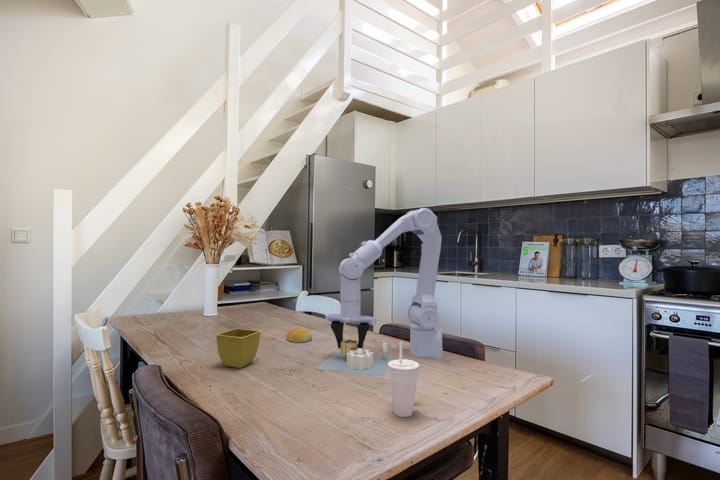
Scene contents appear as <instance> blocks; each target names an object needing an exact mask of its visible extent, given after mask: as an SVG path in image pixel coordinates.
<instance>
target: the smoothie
mask: <svg viewBox="0 0 720 480" xmlns="http://www.w3.org/2000/svg"><path fill="white" fill-rule="evenodd" d="M398 352H399V359H394V360H392V361H390V362H389V363H388V369H387V370H388V371H389V380H390V387H391V394H392V395H391V398H392V405H393V413H394V415H396V416H398V417H402V418H407V417H408V418H409V417H411V416H412V415H413V414H414V406H415V399H416V390H417V382H418V374H419V372H420V370H421V369H420V363H419V362H417V361H415V360H411V359H403V342H402V341H399V351H398Z"/></svg>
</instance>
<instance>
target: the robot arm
mask: <svg viewBox="0 0 720 480" xmlns="http://www.w3.org/2000/svg"><path fill="white" fill-rule="evenodd" d="M407 232H412V233H413V234H415V235H416V236H417V237H418V238H419V239H420V241H421V242H422V247H421V248H422V249H421V255H420V263H419V270H418V276H417V285H416V293H415V295H414V296H413V297H412V299H411V304H410V305H409V306H408V309H407V311H406V312H407V317H408V319H409V321H410V328H409V329H410V331H409V333H410V335H409V337H410V343H409V344H410V346H409V348H410V351H409V353H410V355H411V356H414V357H418V358H432V359H433V358H434V359H439V363H441V361H442V358H443V354H444V350H443V349H444V348H443V330H442V329H441V328H437V327H436V326H437V324H438V322H439V314H438V302H437V301H436V298H435V290H436V283H437V277H438V275H437V274H438V270H439V261H440V255H441V254H440V253H441V248H442V240H443V239H442V234H441V231H440V229H439V225H438V217H437V215H436V214H435V213H434V212H433V211H432V210H431V209H430V208H428V207H427V208H426V207H421V208H419V209H415V210H410V211H408V212H407V213H405V214H404V215H402V216H401V217H399V218H398V219H397V220H396V221H395V222H394V223H392V224H391V225H390V226H389V227H388V228H387V229H386V230H385V231H383V233H381V234H380V236H379V237H377V238H376V239H375V240H373V239H372V240H371V239H368V240H366V241H365V240H364V241H362V242H361V244H360V245H361V246H359V248H357V249H356V250H355V251H354V252H349V254H348V256H349V257H347V258H345V259H343V260H342V261H341V262H340V264H339V267H338V272H339V274H340V291H339V293H340V296H339V297H340V309H339V310H340V313H339V314H338V313H332V314H331V313H327V314H325V318H324V319H325V322H326V323H331V324H330V329H331V330H332V332H333V334H334V337H335V340H336V345H337V349H341V342H342V340H344V335H343V334H344V325H345V324H347V323H348V324H358V325H357V326H356V328H357V335H358V338H357V339H358V348H362V349H364V343H365V339H366V337H367V333H368V332H369V329H370V327H371V326H376V323H377V316H370V315H363V314H361V307H362V306H361V302H362V301H361V293H362V292H361V291H362V290H361V285H362V284H361V277H362V275H363V273H364V270H366V269H367V268H369V267H370V266H371V265H372V264H373V263H374V262H376V261H377V260H378V259H380V257H381V256H382V254H383V253H382V252H383V249H384V248H385V247H387V246H388V245H389V244H390V243H392V242H393V241H394V240H395V239H396V238H398V237H399V236H400V235H401V234H403V233H407Z"/></svg>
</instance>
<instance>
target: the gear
mask: <svg viewBox="0 0 720 480" xmlns="http://www.w3.org/2000/svg"><path fill="white" fill-rule="evenodd" d="M373 355H374V352H373V351H372V352H371V351H370V350H368V349H365V350H363V355H357V351H352V350H351V351H349V353H347V367H350V369H352V370H353V369H359V370H363V369H366V368H367V369H371V368H372V366H373Z"/></svg>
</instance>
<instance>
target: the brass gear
mask: <svg viewBox="0 0 720 480" xmlns="http://www.w3.org/2000/svg"><path fill="white" fill-rule="evenodd" d="M358 341H359V339H350V338H349V339H343V340H342V342H341V349H340V350H339V352H340V354H342V355H343V356H347V353H349V351H351V350H352V351H357V349H358ZM348 342H353V343H352V344H350V343H348Z"/></svg>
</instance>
